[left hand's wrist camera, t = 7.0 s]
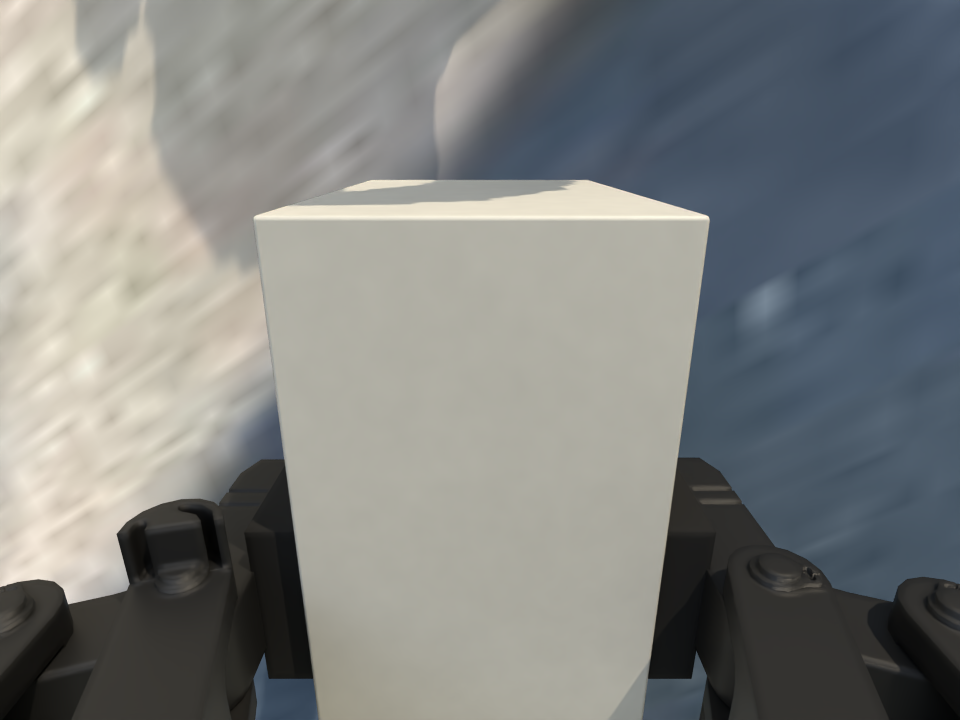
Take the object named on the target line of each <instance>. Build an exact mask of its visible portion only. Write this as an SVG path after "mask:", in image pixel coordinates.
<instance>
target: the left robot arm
mask: <svg viewBox="0 0 960 720" xmlns="http://www.w3.org/2000/svg"><path fill="white" fill-rule="evenodd" d="M731 488H732V487H731V486H730V485H729V483H728V482H727V481H726V479H725V478H724V477H723V475H722V474H721V473H720V471H718V470H717V469H715V468H714V467H712V466H711V465H709V464H708V463H706V462H705V461H703V460H702V459H700V458H678V459H677V466H676V473H675V481H674V488H673V496H672V503H671V510H670V518H669V525H668V533H667V540H666V547H665V555H664V562H663V570H662V577H661V584H660V592H659V599H658V607H657V614H656V621H655V629H654V636H653V644H652V651H651V658H650V666H649V673H648V679H691V678H692V672H693V666H694V661H695V655H696V651H697V653H698V655H699V658H700V660H701V662H702V665H703V667H704V669H705V672H706V674H707V680H706V686H705V691H704V697H703V702H702V708H701V713H700V719H699V720H960V584H956V583H954V582H950V581H946V580H943V579H935V578H927V577H919V578H912V579H907V580H905V581H904V582H903V583H902V584H901V585H899V586H898V589H897V592H896V595H895V598H894V601H893V602H890V601H885V600H881V599H876V598H871V597H867V596H862V595H858V594H853V593H848V592H845V591H841V590H838V589H834V588H832V586H831V584H830V582H829V581H828V579H827V578H826V577H825V575H824V574H823V572H822V571H821V570H820V569H818V568H817V567H816V566H815V565H813V564H812V563H811V562H809V561H808V560H807V559H805V558H803V557H801V556H799V555H797V554H794V553H792V552H790V551H788V550H784V549H780V548H777V547H775V546H774V545H773V543H772V542H771V541H770V539H769V538H768V536H767V535H766V534H765V532H764V531H763V530H762V528H761V527H760V526H759V524H758V523H757V522H756V520H755V519H754V517H753V516H752V515H751V513H750V512H749V511H748V509H747V508H746V507H745V505H744V504H741V500H740V498H739V497H738V496H737V494H736V493H735V492H734V491H732V489H731ZM117 537H118V541H119V545H120V549H121V552H122V556H123V560H124V564H125V568H126V571H127V575H128V579H129V583H130V585H129V587H128V589H127V591H124V592H121V593H117V594H114V595H110V596H105V597H100V598H96V599H91V600H87V601H82V602H77V603H73V604H68V603H67V600H66V596H65V593H64V590H63V588H61V587H60V586H59V585H58V584H57V583H55V582H53V581H46V580H39V579H38V580H30V581H22V582H16V583H13V584H9V585H7V586H2V587H0V720H255V716H256V707H257V699H256V692H255V686H254V680H253V678H254V676H255V673H256V671H257V668H258V666H259V664H260V661H261V659H262V657H263V654H264V652H265V658H266V664H267V670H268V676H269V679H313V672H312V664H311V657H310V649H309V641H308V634H307V626H306V619H305V611H304V604H303V596H302V588H301V581H300V573H299V566H298V558H297V550H296V543H295V535H294V528H293V520H292V512H291V505H290V497H289V490H288V482H287V475H286V467H285V460H260V461H258V462H257V463H256V464H254V465H253V466H251V467H250V468H248V469H247V470H245V471H244V472H242V473H241V474H240V475H239V477H238V478H237V479H236V481H235V482H234V484H233V485H232V486H231V488H230V489H229V493H226V495H225V496H224V497H223V499H222V500H221V501H220V503H219V506H218V505H217V504H216V503H214V502H211V501H207V500H203V499H181V500H177V501H172V502H168V503H163V504H160V505H158V506H155V507H153V508H150V509H148V510H146V511H143V512H141V513H140V514H138V515H137V516H135V517H134V518H132V519H131V520H129V521H128V522H127V523H126V524H125V525H124V526H123V527H122V528H121V530H120V531H119V532H118V533H117Z"/></svg>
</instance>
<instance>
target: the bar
mask: <svg viewBox="0 0 960 720" xmlns="http://www.w3.org/2000/svg"><path fill="white" fill-rule="evenodd" d="M709 222H710V220H709V217H708V216H706V215H703V214H699V213H696V212H693V211H689V210H686V209H683V208H679V207H676V206H673V205H669V204H666V203H662V202H659V201H656V200H652V199H649V198H646V197H642V196H639V195H636V194H632V193H629V192H626V191H622V190H619V189H615V188H612V187H609V186H605V185H602V184H599V183H595V182H592V181H589V180H370V181H367V182H363V183H360V184H357V185H354V186H350V187H347V188H344V189H341V190H337V191H334V192H331V193H328V194H324V195H321V196H318V197H315V198H311V199H308V200H305V201H302V202H298V203H295V204H292V205H288V206H285V207H282V208H279V209H275V210H272V211H269V212H266V213H262V214H259V215H256V216H254V218H253V224H254V232H255V239H256V247H257V255H258V262H259V270H260V277H261V285H262V292H263V300H264V308H265V315H266V323H267V330H268V338H269V346H270V353H271V361H272V368H273V376H274V383H275V391H276V399H277V406H278V414H279V421H280V429H281V437H282V444H283V452H284V459H285V467H286V475H287V482H288V490H289V497H290V505H291V512H292V520H293V528H294V535H295V543H296V550H297V558H298V566H299V573H300V581H301V588H302V596H303V604H304V611H305V619H306V626H307V634H308V641H309V649H310V657H311V664H312V672H313V679H314V687H315V695H316V702H317V710H318V717H319V720H642V718H643V710H644V703H645V695H646V688H647V681H648V673H649V666H650V658H651V651H652V644H653V636H654V629H655V621H656V614H657V607H658V599H659V592H660V584H661V577H662V570H663V562H664V555H665V547H666V540H667V533H668V525H669V518H670V510H671V503H672V496H673V488H674V481H675V473H676V466H677V459H678V451H679V444H680V436H681V429H682V421H683V414H684V407H685V399H686V392H687V384H688V377H689V370H690V362H691V355H692V347H693V340H694V333H695V325H696V318H697V310H698V303H699V296H700V288H701V281H702V273H703V266H704V259H705V251H706V244H707V236H708V229H709Z"/></svg>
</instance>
